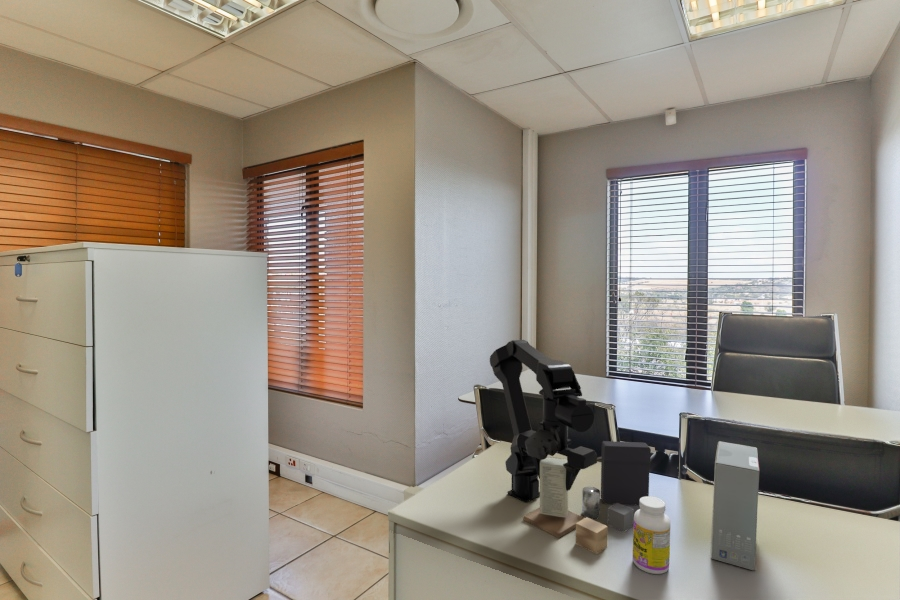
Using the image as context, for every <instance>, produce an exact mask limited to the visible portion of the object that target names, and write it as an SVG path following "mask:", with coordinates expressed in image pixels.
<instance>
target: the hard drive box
mask: <svg viewBox="0 0 900 600" xmlns="http://www.w3.org/2000/svg"><path fill="white" fill-rule="evenodd" d="M714 460H715V461H714V476H713V477H714V478H713V479H714V481H713V493H712V494H713V495H712V497H713V498H712V499H713V501H712V517H711V518H712V519H711V537H710V538H711V541H710V559H713V560H716V561H720V562H722V563H726V564H728V565H733V566H735V567H740V568H743V569H747V570H751V571H755V569H756V568H755V567H756V555H757V554H756V553H757V532H758V531H757V529H758V528H757V527H758V502H759V485H760V484H759V483H760V464H759V463H760V462H759V457H758V448H757V447H755V446H749V445H744V444H739V443H731V442H725V441H720V440H719V441H718V442H717V446H716V453H715V459H714Z"/></svg>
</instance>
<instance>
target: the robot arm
mask: <svg viewBox="0 0 900 600" xmlns="http://www.w3.org/2000/svg"><path fill="white" fill-rule="evenodd" d="M489 365H490V366H491V368H492V372H493V376H494V377H496V378H497V379H498V381H499V382H501V385H502V389H503V394H504V398H505V402H506V406H507V407H506V408H507V411H508V414H509V415H508V416H509V419H510V425H511V429H512V432H513V438H512V442H511V445H510V453H511V454H510V455H509V457H508V458H507V459H506V460H505V469H506V471H507V472H508V473H510V475H511V489H510V490H507V495H509V496H512V497H513V498H516V499H517V500H520V501H522V502H524V503H528V502H530V501H532V500H534V499H536V498H539V497H540V461H541V460H544V459H545V458H547V457H549V456H550V457H551V456H552V457H553V456H554V455H556V454H559V455H562V456H564V457H566V459H567V461H568V462H567V463H565V464H563V466H564V467H565V469H566V490H567V491H568V492H569V491H570V490H571V489H572V487H573V484H574V483H575V480H577V476H578V474H579V473H580V471H581V470H586V469H588V468H589V467H592V466H594V465H596V464H597V463H598V454H597V452H596V451H595V450H594V449H592V448H588V447H584V446H582V445H581V446H578V447H575V448H570V447H568V446H570V445H572V439H570V438H569V428H570V429H572V430H574V431H576V432H578V433H585V432H587V431H588V430H589V429H590V428H591V427H592V426H593V424H594V421H595V414H594V411H593V410H592V408H591V407H590V406H588V405H587V399H585V398H582V396H583V392H582V390H581V389H582V387H581V385H580V384H579V382H578V379H577V377H576V374H575V372H574V369H573V367H572V366H571V365H570V364H569V363H567V362H564V361H562V360H558V359H552V358H549V357H548V356H546V355H545V354H543V353H542V352H541V351H540V350H538V349H537V348H535V347H533V345H531V344H530V343H529V341H528V340H526V339H516V340H514V339H513V340H510V341H508V342H507V343H506V344H505V345H502V346H501V347H498V348H497V349H495V350H494V351H493V352H492V354H491V355H490V357H489ZM523 365H525V367H527V368H528V369H529V370H530V371H531V372H533V373H534V374H535V379H536V380H535V381H536V382H537V383H538V384H539V385H540V387H541V388H542V389H540V390H539V391H538V394H539V395H540V396H542V397H543V398H542V421H540V422H538V428H537V431H536V430H533V429H532V426H531V425H532V424H531V422H530V417H529V413H528V409H527V408H528V407H527V405H526V400H525V396H524V393H523V389H522V384H521V380H520V378H521V375H522V372H523Z"/></svg>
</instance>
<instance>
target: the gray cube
mask: <svg viewBox="0 0 900 600" xmlns="http://www.w3.org/2000/svg"><path fill="white" fill-rule="evenodd" d="M607 526H608V527H609V526H610V527H611V528H613V529H616V530H619V532H620V531H621V532H623V533H625V532H626V531H627V530H629V529H630V528H633V527H634V508H631V507H629V506H628V505H622V504H619V503H616V504H611V506H609V507H608V508H607Z"/></svg>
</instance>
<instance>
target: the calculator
mask: <svg viewBox="0 0 900 600" xmlns="http://www.w3.org/2000/svg"><path fill="white" fill-rule="evenodd" d="M651 454H652V452H651V447H650V446H649V445H648V444H647V443H646V442H635V441H612V440H611V441H608V440H603V441H601V457H600V459H601V466H600V470H601V471H600V500H601V501H602V502H603V504H605V505H614V504H616V503H619V504H622V505H624V506H639V500H640V498H642V497H645V496H649V495H650V492H649V491H650V464H651Z"/></svg>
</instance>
